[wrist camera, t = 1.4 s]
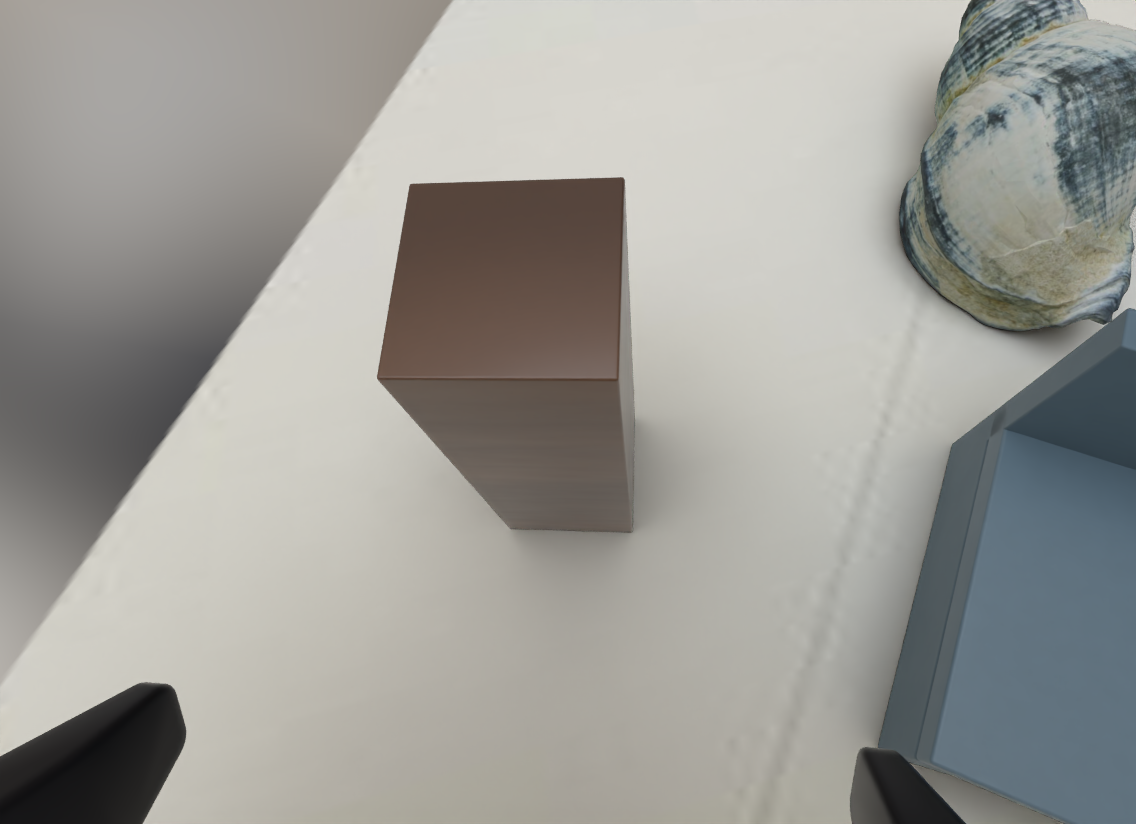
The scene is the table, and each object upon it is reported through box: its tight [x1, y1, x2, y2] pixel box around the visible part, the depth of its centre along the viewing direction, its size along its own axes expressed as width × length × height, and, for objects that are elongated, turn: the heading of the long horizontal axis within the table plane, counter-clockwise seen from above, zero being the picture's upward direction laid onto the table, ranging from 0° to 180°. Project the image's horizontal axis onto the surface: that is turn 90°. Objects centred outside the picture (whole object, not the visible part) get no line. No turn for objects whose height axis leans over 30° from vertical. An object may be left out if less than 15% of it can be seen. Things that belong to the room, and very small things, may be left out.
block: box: [377, 177, 635, 532], centre depth 18 cm, size 4×4×12 cm
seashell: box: [899, 0, 1136, 331], centre depth 23 cm, size 6×8×12 cm
